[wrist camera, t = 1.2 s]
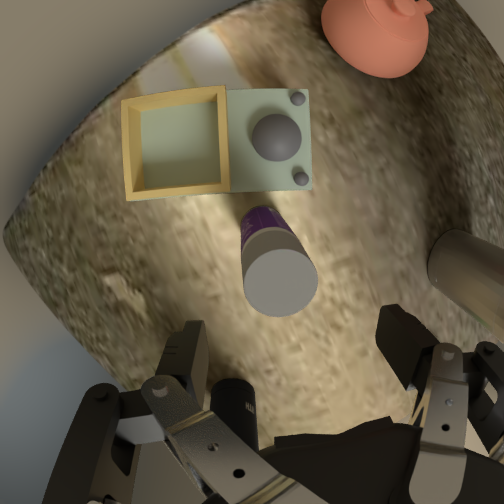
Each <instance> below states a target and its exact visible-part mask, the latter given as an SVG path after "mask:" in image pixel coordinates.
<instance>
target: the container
mask: <svg viewBox="0 0 504 504" xmlns="http://www.w3.org/2000/svg"><path fill="white" fill-rule="evenodd" d="M241 264H242V275H243V287H244V293H245V296H246V298H247V300H248V302H249V303H250V305H251V306H252V307H253V308H254V309H256V310H257V311H258V312H260V313H262V314H265V315H267V316H272V317H285V316H290V315H293V314H295V313H297V312H299V311H301V310H302V309H303V308H305V307H306V306H307V305H308V304H309V303H310V301H311V300H312V299H313V297H314V295H315V293H316V290H317V286H318V276H317V271H316V269H315V266H314V265H313V263H312V261H311V260H310V258H309V256H308V255H307V253H306V251H305V250H304V248H303V246H302V245H301V243H300V241H299V240H298V238H297V237H296V235H295V234H294V233H293V231H292V230H291V229H290V227H289V226H288V224H287V223H286V222H285V220H284V219H283V218H282V216H281V215H280V214H279V213H278V212H277V211H276V210H275V209H273V208H271V207H268V206H258V207H255V208H253V209H251V210H249V211H248V212H247V213H246V214H245V216H244V218H243V220H242V223H241Z"/></svg>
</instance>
